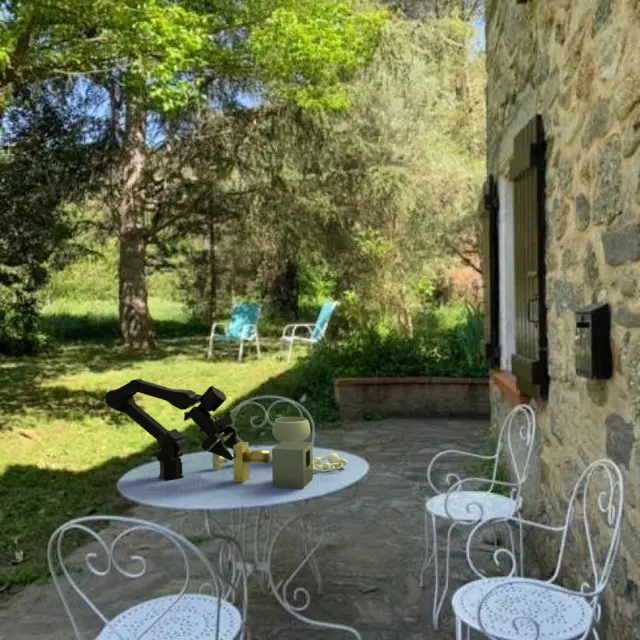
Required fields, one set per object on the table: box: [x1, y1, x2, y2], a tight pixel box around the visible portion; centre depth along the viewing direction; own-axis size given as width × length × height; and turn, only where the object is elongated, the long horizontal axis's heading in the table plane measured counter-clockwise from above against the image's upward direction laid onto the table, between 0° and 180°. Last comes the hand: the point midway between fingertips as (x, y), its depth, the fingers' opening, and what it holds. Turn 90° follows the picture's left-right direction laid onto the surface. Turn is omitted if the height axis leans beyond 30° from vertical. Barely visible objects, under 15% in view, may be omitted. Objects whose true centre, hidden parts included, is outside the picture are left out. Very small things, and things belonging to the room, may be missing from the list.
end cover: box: [232, 441, 272, 483], centre depth 218 cm, size 11×6×12 cm, turn 77°
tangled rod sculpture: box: [313, 452, 349, 473], centre depth 233 cm, size 19×14×4 cm
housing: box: [271, 441, 314, 489], centre depth 215 cm, size 10×12×12 cm
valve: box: [211, 453, 233, 471], centre depth 238 cm, size 7×7×12 cm
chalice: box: [271, 416, 311, 443], centre depth 248 cm, size 14×14×15 cm
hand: (237, 456), depth 220 cm, fingers open, 9 cm apart
